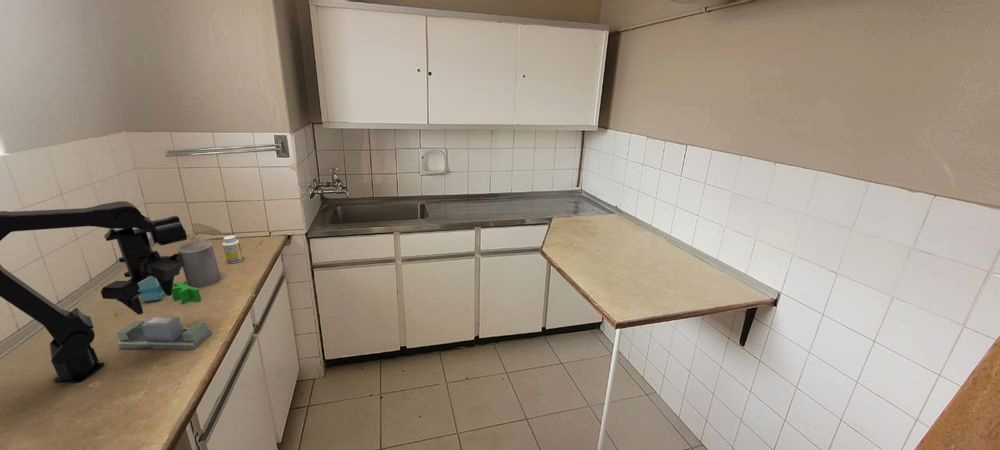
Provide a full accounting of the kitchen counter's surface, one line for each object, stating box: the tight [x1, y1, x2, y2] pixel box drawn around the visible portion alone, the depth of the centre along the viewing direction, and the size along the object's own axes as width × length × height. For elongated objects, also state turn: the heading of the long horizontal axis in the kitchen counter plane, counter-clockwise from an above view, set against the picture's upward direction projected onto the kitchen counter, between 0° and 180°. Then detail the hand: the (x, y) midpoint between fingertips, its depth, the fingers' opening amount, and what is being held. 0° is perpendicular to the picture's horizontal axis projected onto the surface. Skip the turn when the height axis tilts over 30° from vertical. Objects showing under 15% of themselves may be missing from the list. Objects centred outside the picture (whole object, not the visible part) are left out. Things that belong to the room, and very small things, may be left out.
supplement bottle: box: [222, 234, 244, 264], centre depth 156 cm, size 6×6×10 cm
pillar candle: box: [177, 240, 221, 289], centre depth 139 cm, size 10×10×15 cm
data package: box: [138, 254, 166, 303], centre depth 131 cm, size 12×4×12 cm, turn 21°
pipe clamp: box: [171, 281, 202, 305], centre depth 129 cm, size 11×4×5 cm, turn 67°
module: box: [141, 316, 184, 341], centre depth 108 cm, size 4×7×5 cm, turn 89°
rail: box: [116, 320, 213, 351], centre depth 109 cm, size 7×20×4 cm, turn 89°
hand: (155, 304), depth 106 cm, fingers open, 9 cm apart
